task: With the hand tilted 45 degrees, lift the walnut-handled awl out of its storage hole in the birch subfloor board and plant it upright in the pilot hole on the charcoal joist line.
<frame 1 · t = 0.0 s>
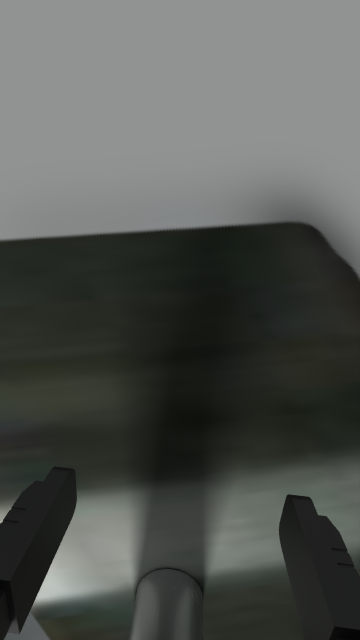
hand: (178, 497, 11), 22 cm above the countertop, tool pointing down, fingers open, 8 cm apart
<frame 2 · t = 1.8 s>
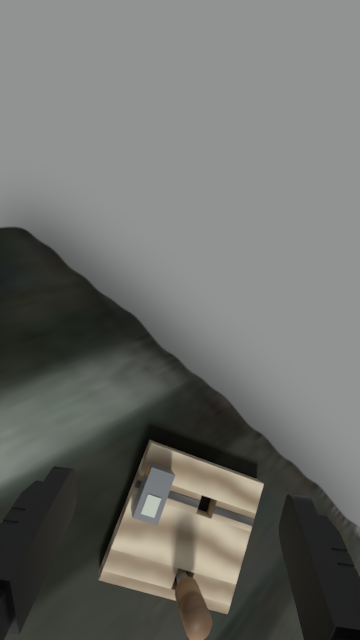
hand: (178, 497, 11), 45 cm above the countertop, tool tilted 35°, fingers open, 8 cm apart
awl: (179, 570, 51), resting in board
board: (185, 520, 52), on the countertop
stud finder: (151, 488, 50), resting on board
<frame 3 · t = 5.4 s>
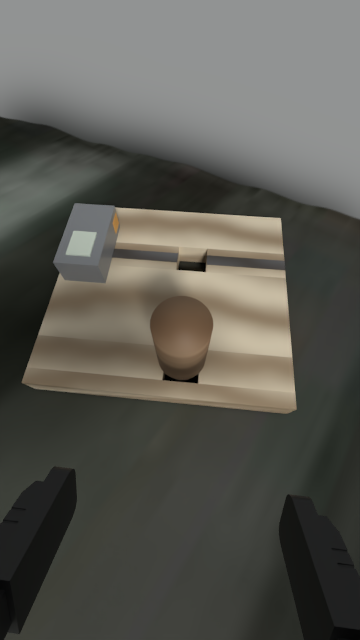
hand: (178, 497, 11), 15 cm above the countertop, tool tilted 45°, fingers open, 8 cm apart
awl: (181, 372, 28), resting in board
board: (170, 300, 31), on the countertop
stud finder: (93, 251, 31), resting on board
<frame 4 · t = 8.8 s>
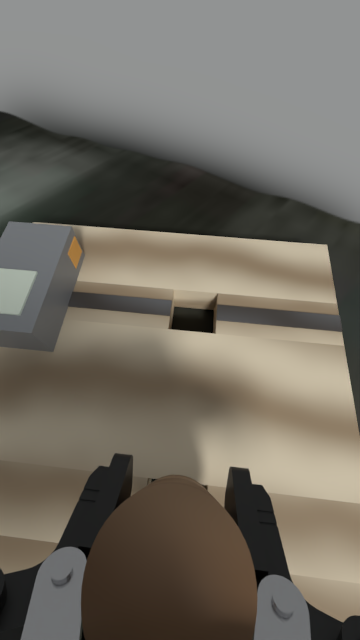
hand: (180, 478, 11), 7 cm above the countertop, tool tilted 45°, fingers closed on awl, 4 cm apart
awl: (176, 510, 16), resting in board, touching gripper
board: (159, 373, 20), on the countertop
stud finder: (40, 296, 20), resting on board
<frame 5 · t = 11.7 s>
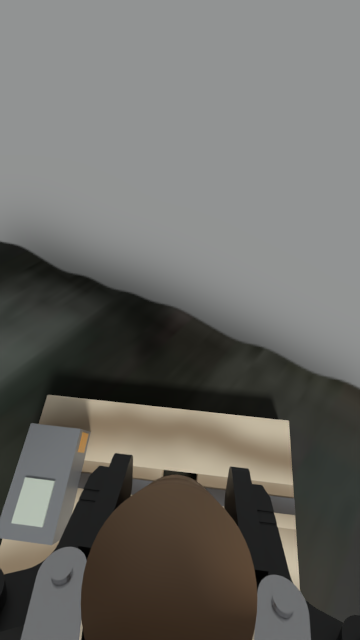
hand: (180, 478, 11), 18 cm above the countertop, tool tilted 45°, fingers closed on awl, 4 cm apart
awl: (176, 510, 16), point 11 cm above the countertop, touching gripper
board: (151, 538, 25), on the countertop
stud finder: (55, 477, 25), resting on board
when the fingers open (7 cm above the countertop, at t = 14.8 s): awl stays where it is, resting in board.
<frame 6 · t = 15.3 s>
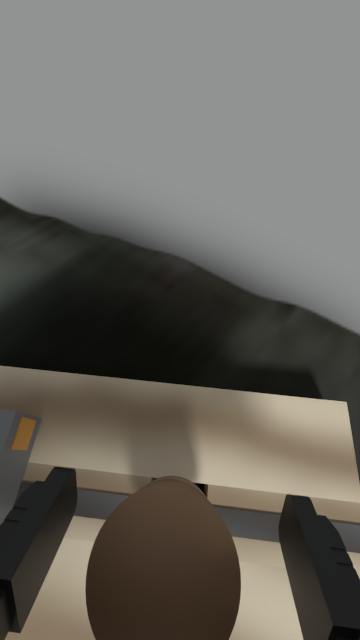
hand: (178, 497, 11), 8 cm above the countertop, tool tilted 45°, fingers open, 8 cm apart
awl: (173, 509, 17), resting in board
board: (133, 589, 16), on the countertop
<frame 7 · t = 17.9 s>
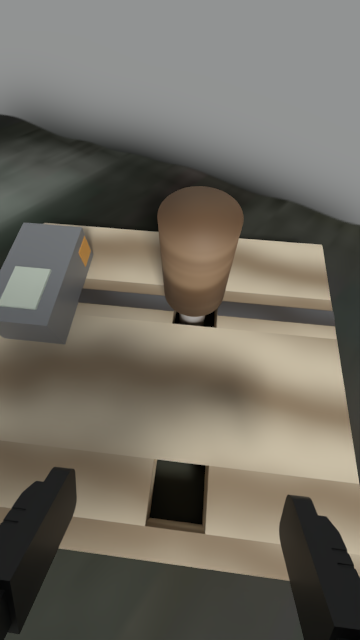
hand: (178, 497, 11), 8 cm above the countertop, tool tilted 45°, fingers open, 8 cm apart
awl: (191, 322, 23), resting in board
board: (164, 365, 21), on the countertop
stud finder: (52, 293, 21), resting on board
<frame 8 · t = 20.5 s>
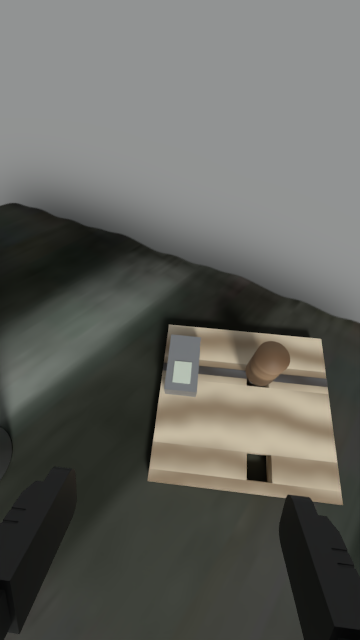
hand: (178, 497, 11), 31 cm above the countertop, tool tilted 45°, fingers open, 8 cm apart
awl: (252, 380, 44), resting in board
board: (240, 405, 42), on the countertop
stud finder: (183, 368, 42), resting on board
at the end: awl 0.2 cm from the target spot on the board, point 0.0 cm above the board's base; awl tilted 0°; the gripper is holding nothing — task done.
